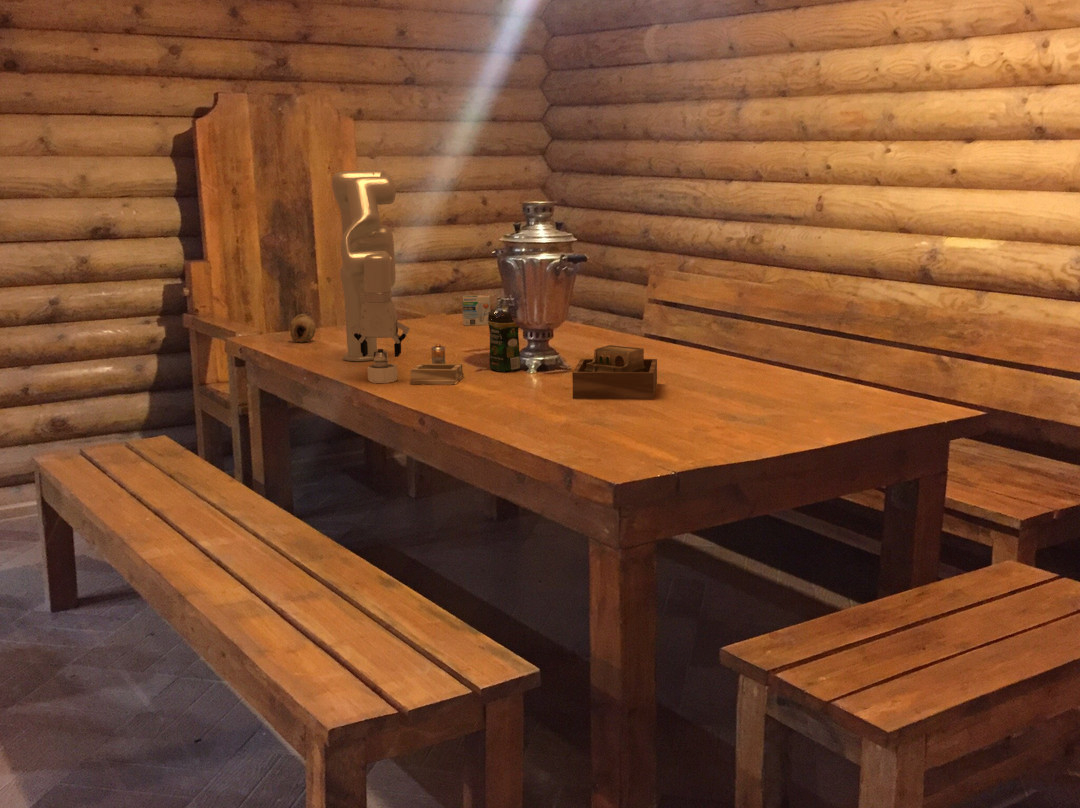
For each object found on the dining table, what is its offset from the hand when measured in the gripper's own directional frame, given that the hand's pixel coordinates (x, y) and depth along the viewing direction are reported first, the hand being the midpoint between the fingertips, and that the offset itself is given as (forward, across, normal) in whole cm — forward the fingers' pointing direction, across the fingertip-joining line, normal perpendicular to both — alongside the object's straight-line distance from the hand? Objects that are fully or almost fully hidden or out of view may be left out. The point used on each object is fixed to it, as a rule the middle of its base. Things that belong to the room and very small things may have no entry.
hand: (381, 355), depth 336 cm
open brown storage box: (+6, +69, -12) cm, 71 cm away
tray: (+7, +16, 0) cm, 18 cm away
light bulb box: (+10, +6, +108) cm, 109 cm away
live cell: (+7, +14, +11) cm, 20 cm away
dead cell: (+7, 0, -1) cm, 7 cm away
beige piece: (+7, 0, -1) cm, 7 cm away
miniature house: (+7, +68, -11) cm, 70 cm away
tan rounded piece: (+10, -48, +66) cm, 82 cm away
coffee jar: (+7, +33, +17) cm, 38 cm away
